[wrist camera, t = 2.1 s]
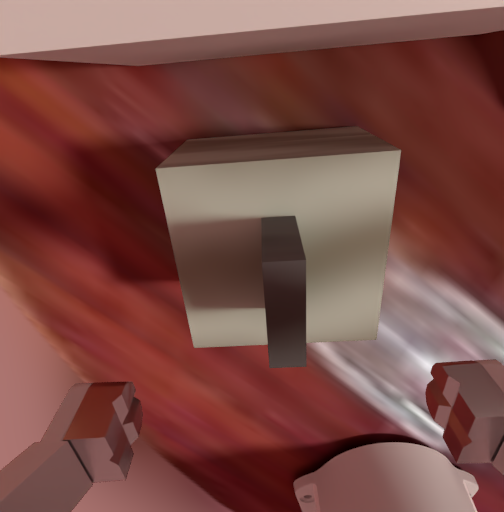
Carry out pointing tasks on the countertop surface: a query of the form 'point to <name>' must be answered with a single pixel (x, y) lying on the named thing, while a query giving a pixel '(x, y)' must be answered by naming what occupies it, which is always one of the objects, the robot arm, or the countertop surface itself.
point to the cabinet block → (281, 236)
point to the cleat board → (225, 27)
